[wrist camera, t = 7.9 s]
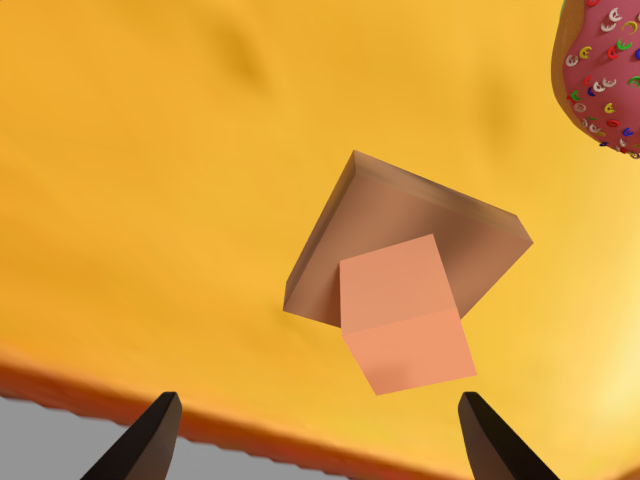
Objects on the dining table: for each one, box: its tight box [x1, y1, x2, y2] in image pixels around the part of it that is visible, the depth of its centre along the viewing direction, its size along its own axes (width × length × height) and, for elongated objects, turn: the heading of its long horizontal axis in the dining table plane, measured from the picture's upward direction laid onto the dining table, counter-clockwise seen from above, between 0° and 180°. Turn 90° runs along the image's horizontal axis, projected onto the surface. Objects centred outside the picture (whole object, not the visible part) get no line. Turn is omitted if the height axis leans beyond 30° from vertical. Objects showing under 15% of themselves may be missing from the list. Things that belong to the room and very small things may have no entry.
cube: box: [340, 234, 477, 396], centre depth 21 cm, size 5×5×5 cm
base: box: [283, 150, 534, 328], centre depth 24 cm, size 10×10×2 cm
